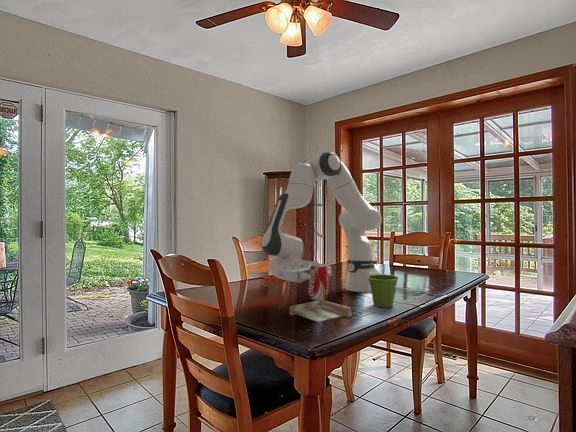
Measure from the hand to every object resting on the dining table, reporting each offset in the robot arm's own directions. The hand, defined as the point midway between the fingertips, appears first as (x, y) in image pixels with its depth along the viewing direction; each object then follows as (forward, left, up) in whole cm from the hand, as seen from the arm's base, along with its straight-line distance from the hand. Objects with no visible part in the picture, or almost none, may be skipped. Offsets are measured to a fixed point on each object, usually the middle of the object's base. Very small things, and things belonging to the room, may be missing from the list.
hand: (320, 275), depth 125 cm
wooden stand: (0, -1, -14) cm, 14 cm away
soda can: (0, -1, -8) cm, 9 cm away
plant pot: (-28, +4, -14) cm, 32 cm away
